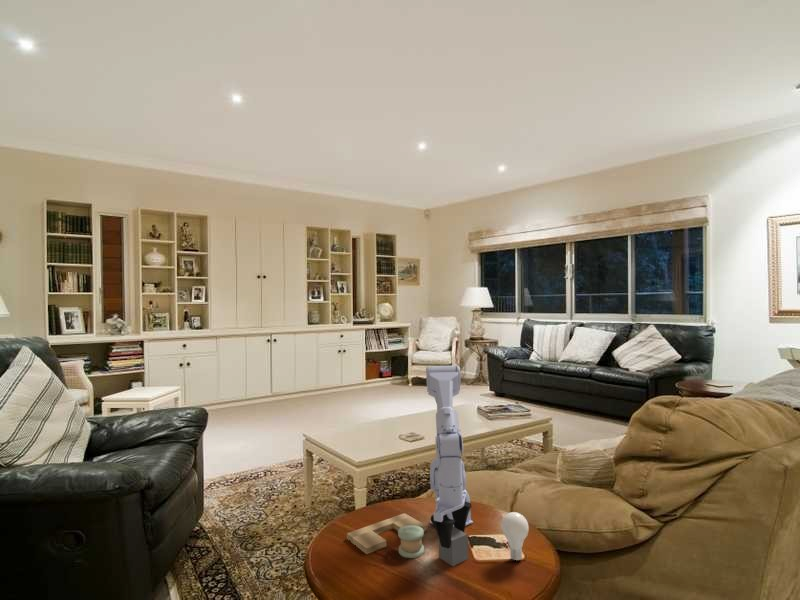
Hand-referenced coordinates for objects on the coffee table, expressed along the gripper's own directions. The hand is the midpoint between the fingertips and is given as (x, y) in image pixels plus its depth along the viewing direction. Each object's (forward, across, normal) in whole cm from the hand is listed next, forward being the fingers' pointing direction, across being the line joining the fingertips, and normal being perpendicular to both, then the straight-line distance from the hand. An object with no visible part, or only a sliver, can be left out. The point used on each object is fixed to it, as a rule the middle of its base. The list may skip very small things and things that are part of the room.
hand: (452, 539), depth 113 cm
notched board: (+4, -2, -21) cm, 21 cm away
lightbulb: (+5, -7, +13) cm, 16 cm away
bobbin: (+4, +2, -11) cm, 12 cm away
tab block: (+4, 0, 0) cm, 5 cm away
